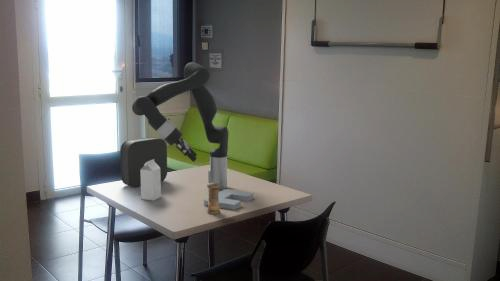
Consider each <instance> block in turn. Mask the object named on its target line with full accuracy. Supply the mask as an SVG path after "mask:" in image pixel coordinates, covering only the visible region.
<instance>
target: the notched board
mask: <svg viewBox="0 0 500 281" xmlns="http://www.w3.org/2000/svg"><path fill="white" fill-rule="evenodd" d="M254 198H255V193H254V192H252V191H251V192H250V191H249V192H248V191H244V190H243V191H242V190H235V189H227V188H225V189H222V190H220V191H218V200H219V209H225V210H226V209H227V210H231V211H236V210H237V209H239V208H240V207H241V206H242V202H250V201H251V200H253V199H254ZM208 200H209V197H207V198H205V199H204V200H203V205H204V206H207V207H208Z"/></svg>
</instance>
